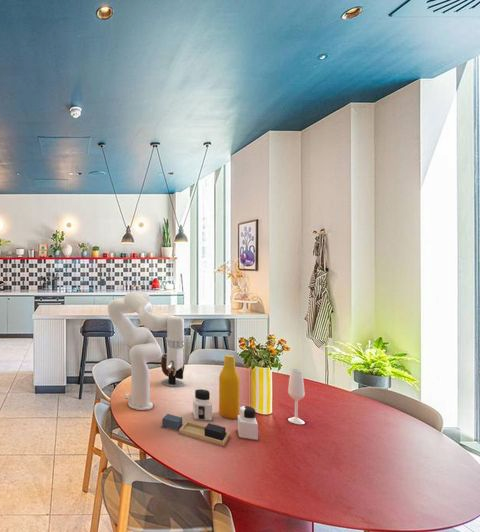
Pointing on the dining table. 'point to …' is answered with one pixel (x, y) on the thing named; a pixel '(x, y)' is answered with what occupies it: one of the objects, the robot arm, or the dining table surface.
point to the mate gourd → (165, 371)
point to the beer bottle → (229, 389)
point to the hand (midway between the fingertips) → (175, 381)
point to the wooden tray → (200, 432)
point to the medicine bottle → (247, 423)
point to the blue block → (172, 422)
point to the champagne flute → (296, 392)
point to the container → (202, 405)
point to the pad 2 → (215, 431)
